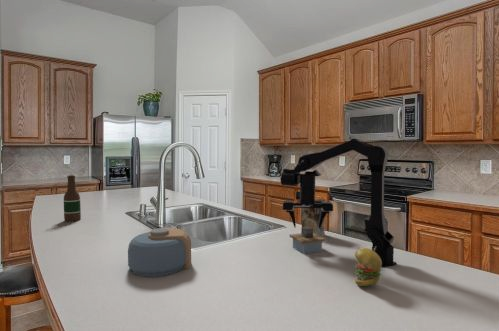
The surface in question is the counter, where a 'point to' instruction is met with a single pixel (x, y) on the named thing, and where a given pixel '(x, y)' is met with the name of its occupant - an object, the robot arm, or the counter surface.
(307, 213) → the coffee box
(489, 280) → the counter surface
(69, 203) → the beer bottle
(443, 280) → the counter surface
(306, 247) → the light blue open box
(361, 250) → the hamburger
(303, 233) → the lid
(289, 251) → the counter surface
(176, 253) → the blue squat cylinder
